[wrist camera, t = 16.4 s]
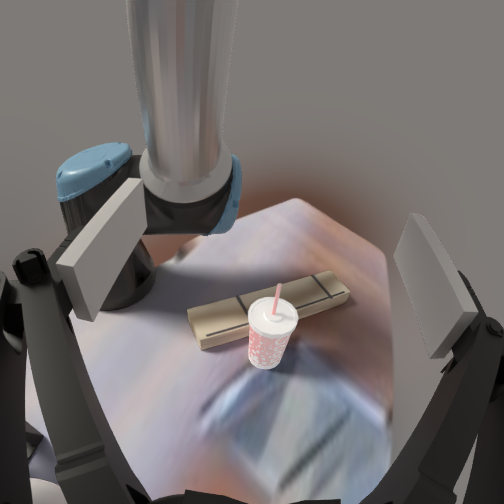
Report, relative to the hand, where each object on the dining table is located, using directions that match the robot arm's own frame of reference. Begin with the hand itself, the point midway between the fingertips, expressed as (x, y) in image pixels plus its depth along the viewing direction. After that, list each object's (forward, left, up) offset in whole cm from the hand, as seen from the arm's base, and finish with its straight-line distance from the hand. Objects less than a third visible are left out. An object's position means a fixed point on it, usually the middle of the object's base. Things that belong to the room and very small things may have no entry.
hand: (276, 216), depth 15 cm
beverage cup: (-10, +8, -30) cm, 33 cm away
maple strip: (-17, +13, -30) cm, 37 cm away
